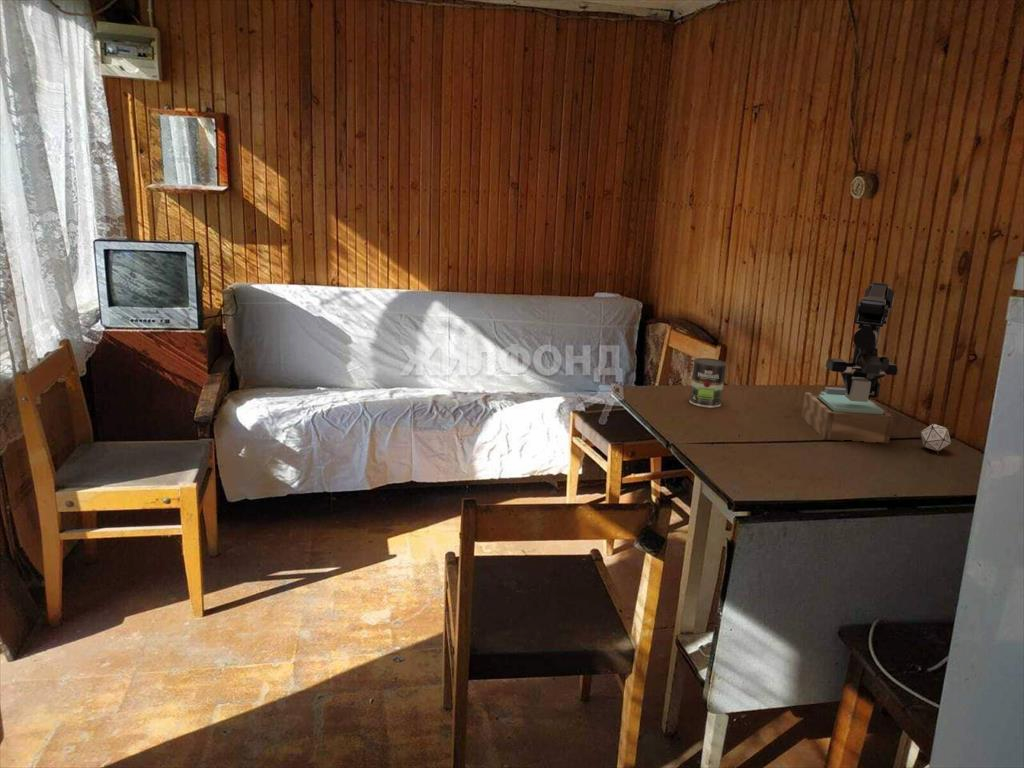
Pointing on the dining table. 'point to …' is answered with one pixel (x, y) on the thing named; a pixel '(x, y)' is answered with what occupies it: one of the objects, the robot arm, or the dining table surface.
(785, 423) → the dining table surface
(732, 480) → the dining table surface
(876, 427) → the box frame
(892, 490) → the dining table surface
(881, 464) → the dining table surface
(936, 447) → the game die
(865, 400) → the grey block
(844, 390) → the trapdoor
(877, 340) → the robot arm
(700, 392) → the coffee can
